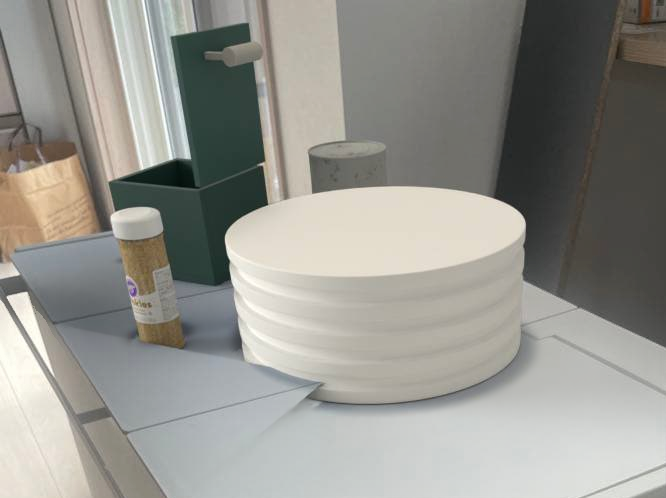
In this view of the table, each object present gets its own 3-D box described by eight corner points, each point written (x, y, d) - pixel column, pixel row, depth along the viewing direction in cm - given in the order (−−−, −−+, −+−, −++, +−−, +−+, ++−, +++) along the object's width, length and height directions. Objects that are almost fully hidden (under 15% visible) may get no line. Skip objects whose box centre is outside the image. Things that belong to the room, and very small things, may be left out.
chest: (129, 272, 105) (107, 181, 99) (192, 242, 114) (176, 157, 108) (215, 286, 100) (199, 191, 94) (275, 254, 109) (263, 165, 103)
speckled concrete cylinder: (305, 260, 107) (294, 156, 99) (334, 237, 114) (325, 138, 106) (376, 265, 104) (370, 159, 97) (400, 241, 111) (396, 141, 104)
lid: (169, 36, 85) (209, 37, 83) (243, 22, 94) (280, 23, 92) (195, 186, 94) (231, 190, 92) (260, 161, 103) (294, 164, 101)
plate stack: (578, 352, 81) (590, 231, 74) (322, 435, 70) (307, 301, 63) (423, 274, 101) (420, 172, 94) (202, 329, 89) (181, 218, 83)
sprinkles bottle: (132, 352, 85) (98, 215, 77) (163, 335, 89) (134, 203, 81) (166, 360, 84) (134, 221, 76) (196, 343, 87) (169, 208, 79)
